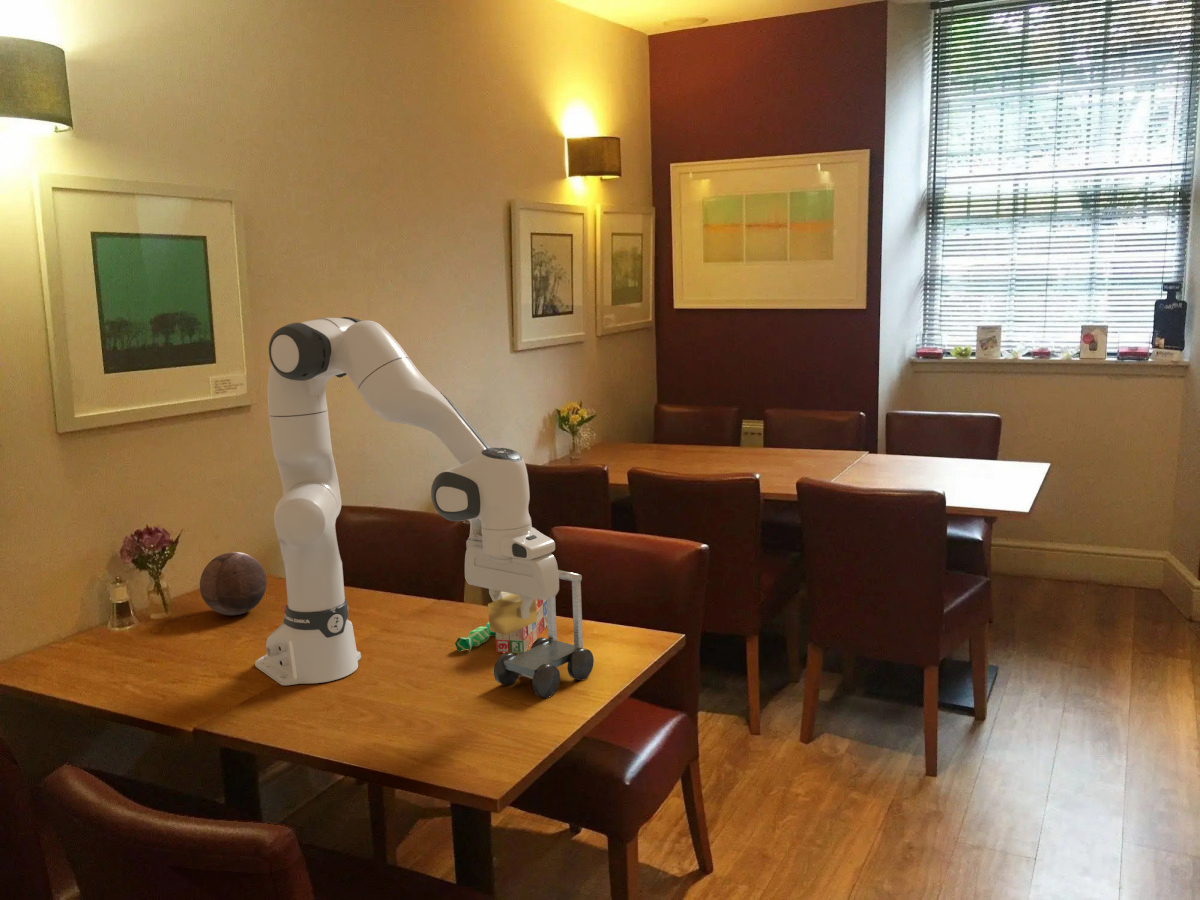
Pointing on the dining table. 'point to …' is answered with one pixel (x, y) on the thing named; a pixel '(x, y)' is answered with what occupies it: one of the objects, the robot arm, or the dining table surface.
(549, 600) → the trolley
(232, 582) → the wooden sphere
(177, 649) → the dining table surface
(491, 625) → the block
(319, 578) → the robot arm
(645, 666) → the dining table surface
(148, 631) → the dining table surface
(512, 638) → the stack of blocks
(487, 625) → the candy
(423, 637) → the dining table surface
